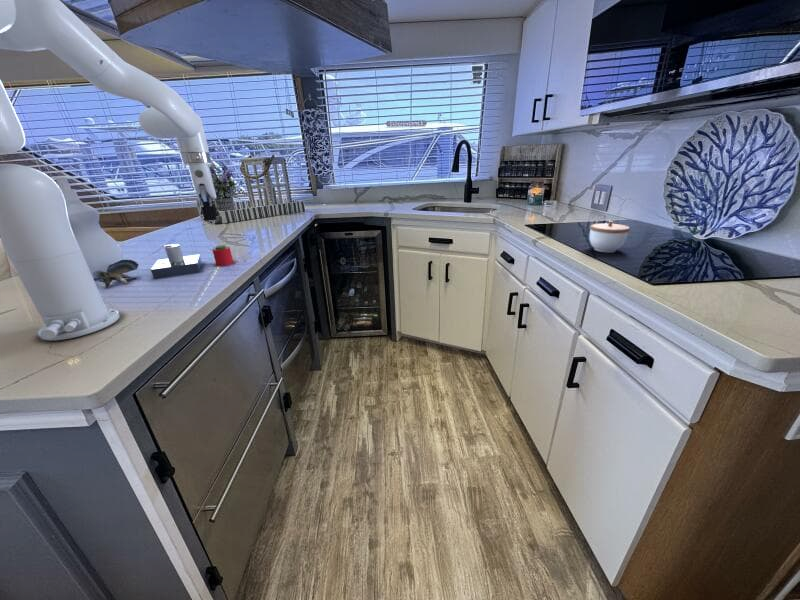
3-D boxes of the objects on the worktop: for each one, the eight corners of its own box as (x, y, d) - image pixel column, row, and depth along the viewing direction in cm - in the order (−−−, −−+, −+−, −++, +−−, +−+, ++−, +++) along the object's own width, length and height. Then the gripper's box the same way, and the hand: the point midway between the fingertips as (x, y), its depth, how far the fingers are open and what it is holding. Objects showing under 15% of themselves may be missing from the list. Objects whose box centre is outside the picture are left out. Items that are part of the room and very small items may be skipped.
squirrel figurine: (123, 284, 89) (146, 268, 96) (97, 265, 86) (124, 250, 93) (110, 297, 91) (134, 281, 99) (85, 279, 88) (112, 263, 96)
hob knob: (184, 258, 104) (179, 242, 102) (183, 261, 101) (177, 245, 99) (170, 260, 103) (165, 244, 101) (168, 263, 99) (162, 247, 97)
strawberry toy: (233, 264, 107) (229, 246, 105) (216, 266, 105) (211, 249, 103) (233, 260, 112) (229, 243, 109) (216, 263, 109) (211, 245, 107)
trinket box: (631, 253, 100) (639, 223, 97) (596, 254, 101) (603, 224, 97) (611, 245, 110) (618, 217, 106) (580, 246, 111) (585, 219, 107)
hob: (199, 272, 100) (196, 262, 99) (154, 279, 96) (150, 269, 94) (202, 262, 110) (199, 253, 109) (160, 268, 106) (157, 259, 104)
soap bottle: (99, 283, 94) (53, 176, 83) (59, 285, 94) (6, 178, 82) (139, 266, 110) (104, 174, 98) (104, 267, 109) (65, 175, 98)
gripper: (209, 158, 90) (224, 220, 96) (212, 160, 104) (224, 214, 111) (178, 158, 87) (195, 223, 93) (185, 161, 101) (199, 216, 108)
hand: (211, 218), depth 102 cm, fingers open, 9 cm apart
